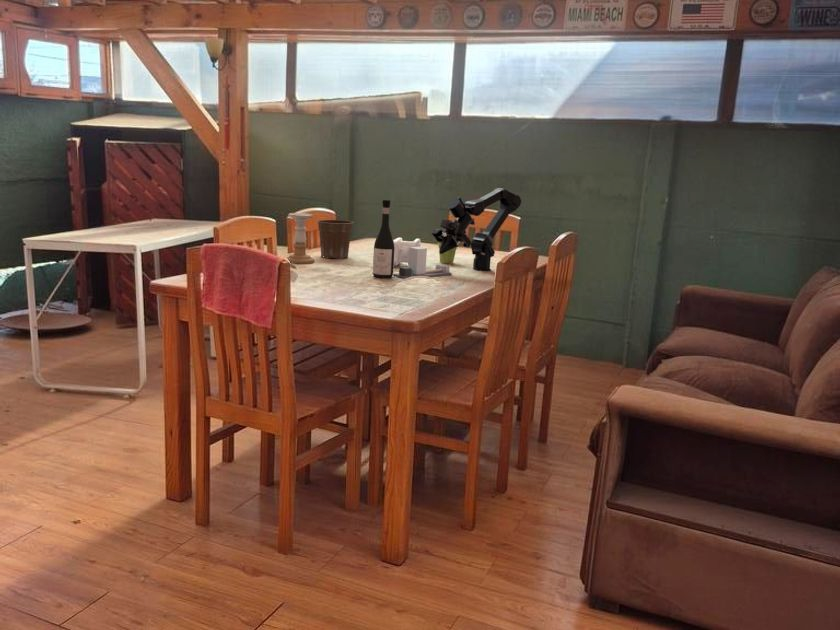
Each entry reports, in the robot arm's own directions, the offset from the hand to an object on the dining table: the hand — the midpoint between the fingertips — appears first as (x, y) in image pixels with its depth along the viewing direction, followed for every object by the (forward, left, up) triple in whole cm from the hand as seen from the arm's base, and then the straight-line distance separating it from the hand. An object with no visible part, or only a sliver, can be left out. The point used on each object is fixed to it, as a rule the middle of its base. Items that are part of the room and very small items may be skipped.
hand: (440, 253), depth 297 cm
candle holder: (+55, -25, -9) cm, 61 cm away
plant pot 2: (-12, -29, -9) cm, 33 cm away
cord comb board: (+8, +4, -9) cm, 12 cm away
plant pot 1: (+38, -40, -9) cm, 56 cm away
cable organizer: (+10, -19, -9) cm, 23 cm away
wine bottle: (+26, +9, -9) cm, 28 cm away
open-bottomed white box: (+11, +6, -7) cm, 15 cm away
